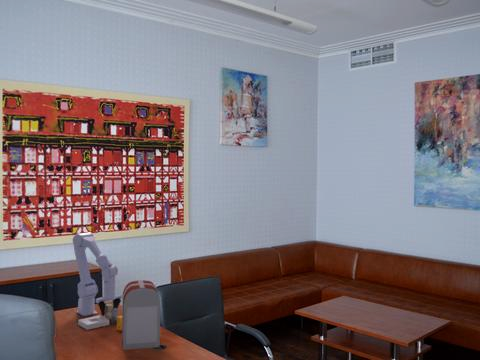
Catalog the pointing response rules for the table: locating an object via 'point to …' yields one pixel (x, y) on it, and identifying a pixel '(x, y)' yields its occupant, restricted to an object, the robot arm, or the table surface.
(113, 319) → the round peg
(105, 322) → the socket block
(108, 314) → the square peg
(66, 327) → the table surface
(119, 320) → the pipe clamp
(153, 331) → the grey arched box
